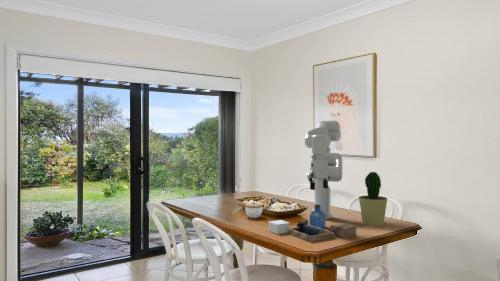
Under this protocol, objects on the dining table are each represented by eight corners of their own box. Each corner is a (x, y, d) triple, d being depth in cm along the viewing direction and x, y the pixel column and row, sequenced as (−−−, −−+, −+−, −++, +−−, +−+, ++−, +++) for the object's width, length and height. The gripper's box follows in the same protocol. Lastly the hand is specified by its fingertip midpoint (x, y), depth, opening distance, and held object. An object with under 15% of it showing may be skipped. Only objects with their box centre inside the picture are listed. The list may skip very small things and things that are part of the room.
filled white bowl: (252, 219, 219) (252, 204, 219) (241, 216, 227) (241, 201, 227) (266, 217, 226) (266, 202, 226) (254, 214, 234) (254, 199, 234)
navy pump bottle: (297, 237, 185) (316, 243, 177) (295, 222, 184) (315, 228, 175) (307, 230, 192) (327, 236, 183) (306, 216, 190) (326, 221, 182)
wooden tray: (288, 233, 187) (288, 228, 187) (311, 229, 194) (311, 225, 194) (310, 242, 171) (310, 236, 171) (334, 237, 178) (334, 232, 178)
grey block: (268, 231, 193) (268, 221, 193) (280, 229, 197) (280, 219, 197) (277, 234, 186) (277, 224, 186) (289, 232, 190) (289, 222, 190)
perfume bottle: (315, 224, 206) (315, 203, 205) (325, 226, 202) (325, 204, 202) (309, 226, 201) (309, 205, 201) (319, 228, 197) (319, 206, 197)
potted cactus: (374, 219, 218) (374, 169, 218) (393, 225, 204) (393, 171, 203) (353, 221, 212) (353, 170, 212) (371, 227, 198) (370, 172, 198)
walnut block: (330, 235, 183) (330, 225, 183) (341, 232, 189) (341, 222, 189) (345, 239, 176) (345, 228, 176) (356, 235, 182) (356, 225, 182)
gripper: (312, 158, 191) (312, 190, 191) (335, 157, 201) (335, 188, 201) (302, 157, 198) (302, 189, 198) (325, 156, 207) (325, 187, 207)
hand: (319, 188), depth 199 cm, fingers open, 9 cm apart
